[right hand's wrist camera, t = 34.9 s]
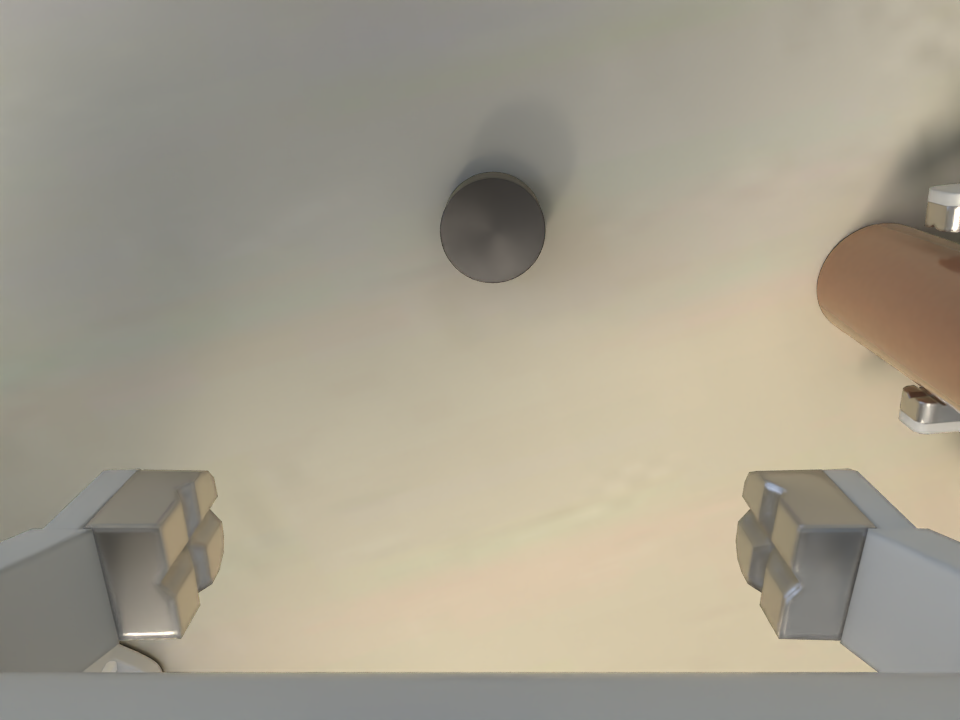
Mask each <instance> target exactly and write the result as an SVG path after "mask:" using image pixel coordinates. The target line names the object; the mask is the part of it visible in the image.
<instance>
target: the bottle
mask: <svg viewBox="0 0 960 720" xmlns="http://www.w3.org/2000/svg"><path fill="white" fill-rule="evenodd" d="M817 297H818V302H819V306H820V308H821V310H822V312H823V314H824V315H825V317H826V318H827V319H828V320H829V321H830V322H831V323H832V324H833V325H835V326H836V327H837V328H839V329H840V330H842V331H843V332H844V333H846V334H847V335H849V336H850V337H851V338H853V339H854V340H856V341H857V342H859V343H860V344H861V345H863V346H864V347H866V348H867V349H868V350H870V351H871V352H873V353H874V354H876V355H877V356H878V357H880V358H881V359H883V360H884V361H886V362H887V363H888V364H890V365H891V366H893V367H894V368H895V369H897V370H898V371H900V372H901V373H903V374H904V375H905V376H907V377H908V378H910V379H911V380H912V381H914V382H915V383H917V384H918V385H920V386H921V387H922V388H924V389H925V390H927V391H928V392H929V393H931V394H932V395H934V396H935V397H937V398H938V399H939V400H941V401H942V402H944V403H945V404H947V405H948V406H949V407H951V408H952V409H954V410H955V411H956V412H958V413H959V414H960V244H959V243H956V242H953V241H950V240H947V239H944V238H941V237H938V236H935V235H933V234H930V233H927V232H924V231H921V230H918V229H915V228H912V227H909V226H906V225H902V224H897V223H880V224H874V225H871V226H867V227H865V228H862V229H860V230H858V231H856V232H854V233H852V234H851V235H849V236H848V237H846V238H845V239H844V240H842V241H841V242H840V243H839V244H838V245H837V246H836V247H835V248H834V249H833V250H832V252H831V253H830V254H829V256H828V257H827V259H826V260H825V262H824V264H823V266H822V268H821V271H820V274H819V277H818V283H817Z"/></svg>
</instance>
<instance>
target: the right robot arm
mask: <svg viewBox="0 0 960 720" xmlns="http://www.w3.org/2000/svg"><path fill="white" fill-rule="evenodd" d="M217 497H218V495H217V490H216V485H215V480H214V477H213V476H212V475H211V473H210V472H209V471H200V470H147V469H145V470H141V469H112V470H105V471H102V472H101V473H100V474H99V475H98V476H97V477H96V478H95V479H94V480H93V481H92V482H91V483H90V484H89V485H88V486H87V487H86V488H85V489H84V490H83V491H82V492H80V493H79V494H78V495H77V496H76V497H75V498H74V499H73V500H72V501H71V502H70V503H69V504H68V505H67V506H66V507H65V508H64V509H63V510H62V511H61V512H60V513H59V514H58V515H57V516H55V517H54V518H53V519H52V520H51V521H50V522H49V523H48V524H47V525H46V526H45V527H44V528H43V529H30V530H28V531H25V532H23V533H21V534H18V535H16V536H13V537H11V538H9V539H6V540H4V541H2V542H0V720H960V542H958V541H956V540H954V539H951V538H949V537H946V536H944V535H942V534H939V533H937V532H935V531H932V530H930V529H917V528H916V527H915V526H914V525H913V524H912V523H911V522H910V521H909V520H908V519H907V518H906V517H905V516H904V515H903V514H901V513H900V512H899V511H898V510H897V509H896V508H895V507H894V506H893V505H892V504H891V503H890V502H889V501H888V500H887V499H886V498H885V497H884V496H883V495H882V494H881V493H880V492H879V491H878V490H877V489H875V488H874V487H873V486H872V485H871V484H870V483H869V482H868V481H867V480H866V479H865V478H864V477H863V476H862V475H861V474H860V473H859V472H858V471H855V470H852V469H828V470H783V471H754V472H749V474H748V476H747V478H746V480H745V483H744V489H743V495H742V497H743V498H744V500H745V501H746V503H747V505H748V506H749V508H750V510H749V511H748V512H747V513H746V514H745V515H744V516H743V517H742V518H741V519H740V520H739V521H738V527H737V535H736V549H737V559H738V562H739V565H740V569H741V572H742V574H743V576H744V578H745V579H746V581H747V583H748V584H749V585H750V586H752V587H754V588H755V589H757V590H758V591H760V592H761V593H762V594H761V600H760V607H761V608H762V610H763V612H764V614H765V615H766V617H767V619H768V621H769V622H770V624H771V626H772V628H773V629H774V631H775V633H776V635H777V636H778V638H779V639H807V640H841V642H840V643H841V644H842V645H843V646H845V647H846V648H847V649H849V650H850V651H851V652H853V653H854V654H855V655H856V656H858V657H859V658H860V659H862V660H863V661H864V662H866V663H867V664H868V665H870V666H871V667H872V668H873V669H875V670H876V671H877V672H162V670H161V667H160V666H159V665H158V664H157V663H156V662H155V661H154V660H152V659H151V658H149V657H147V656H145V655H143V654H141V653H139V652H137V651H135V650H132V649H130V648H128V647H125V646H123V645H120V644H119V640H152V639H181V638H182V637H183V635H184V633H185V631H186V629H187V628H188V626H189V624H190V622H191V621H192V619H193V617H194V615H195V614H196V612H197V610H198V608H199V607H200V600H199V594H198V593H199V592H200V591H202V590H203V589H205V588H206V587H208V586H210V585H211V584H212V583H213V581H214V579H215V577H216V576H217V574H218V572H219V570H220V565H221V561H222V557H223V552H224V533H223V526H222V521H221V520H220V519H219V518H218V517H217V516H216V515H215V514H214V513H213V512H212V511H211V510H210V508H211V506H212V505H213V503H214V501H215V500H216V498H217Z"/></svg>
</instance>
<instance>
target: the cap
mask: <svg viewBox="0 0 960 720" xmlns="http://www.w3.org/2000/svg"><path fill="white" fill-rule="evenodd" d="M440 236H441V242H442V246H443V249H444V252H445V254H446V255H447V257H448V259H449V260H450V262H451V263H452V264H453V265H454V267H455V268H456V269H458V270H459V271H460V272H461V273H463V274H464V275H466V276H467V277H469V278H471V279H474V280H477V281H480V282H485V283H500V282H505V281H508V280H511V279H514V278H516V277H518V276H520V275H521V274H523V273H524V272H525V271H527V270H528V269H529V268H530V267H531V266H532V265H533V264H534V262H535V261H536V259H537V258H538V256H539V254H540V252H541V250H542V247H543V244H544V240H545V221H544V217H543V213H542V211H541V208H540V205H539V203H538V201H537V198H536V197H535V195H534V193H533V192H532V191H531V190H530V188H529V187H528V186H527V185H526V184H525V183H523V182H522V181H520V180H519V179H517V178H515V177H514V176H511V175H508V174H505V173H500V172H486V173H481V174H478V175H475V176H472V177H470V178H468V179H467V180H465V181H464V182H462V183H461V184H460V185H459V186H458V187H457V188H456V189H455V191H454V192H453V193H452V195H451V196H450V198H449V200H448V202H447V205H446V207H445V210H444V212H443V216H442V219H441V225H440Z"/></svg>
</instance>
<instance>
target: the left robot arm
mask: <svg viewBox="0 0 960 720" xmlns="http://www.w3.org/2000/svg"><path fill="white" fill-rule="evenodd" d="M925 226H927V227H929V228H930V227H935V228H936V230H939V231H943V232H960V183H956V184H947V185H938V186H933V187H930V188H929V195H928V203H927V210H926V218H925ZM899 420H900V421H901V422H902V423H904V424H905V425H906V426H907V427H908V428H910V429H911V430H912V431H914V432H917V433H920V434H937V433H949V432H960V414H959V413H958V412H956V411H955V410H954V409H952V408H951V407H949V406H948V405H947V404H945V403H944V402H942V401H941V400H939V399H938V398H937V397H935V396H934V395H932V394H931V393H929V392H928V391H927V390H925V389H924V388H922V387H919V388H918V387H916V386H915V385H911V386H906V387H904V388H903V391H902V398H901V404H900V412H899Z"/></svg>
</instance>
